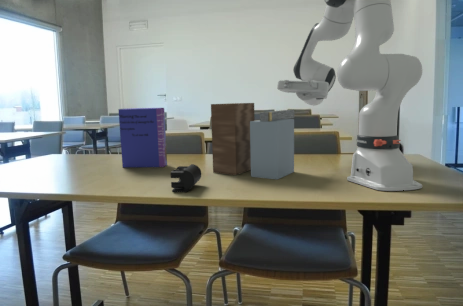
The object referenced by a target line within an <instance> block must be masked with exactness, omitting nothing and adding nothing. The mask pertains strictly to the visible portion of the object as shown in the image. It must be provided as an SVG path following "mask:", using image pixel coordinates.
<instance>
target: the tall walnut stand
mask: <svg viewBox="0 0 463 306" xmlns="http://www.w3.org/2000/svg"><path fill="white" fill-rule="evenodd" d="M210 116H211V117H210V119H211V144H212V145H211V148H212V152H211V153H212V172H213V174H224V175H231V176H237V175H240V174H243V173H246V172H248V171H251V151H250V121H256V120H255V103H254V102H241V103H239V102H235V103H234V102H233V103H232V102H231V103H230V102H228V103H211V104H210Z"/></svg>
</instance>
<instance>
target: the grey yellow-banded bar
mask: <svg viewBox="0 0 463 306" xmlns="http://www.w3.org/2000/svg"><path fill="white" fill-rule="evenodd" d="M294 118H295V109H283V110H282V109H281V110H271V111H270V110H269V111H261V112H259V120H260V122H269V121H276V120H283V119H294Z"/></svg>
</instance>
